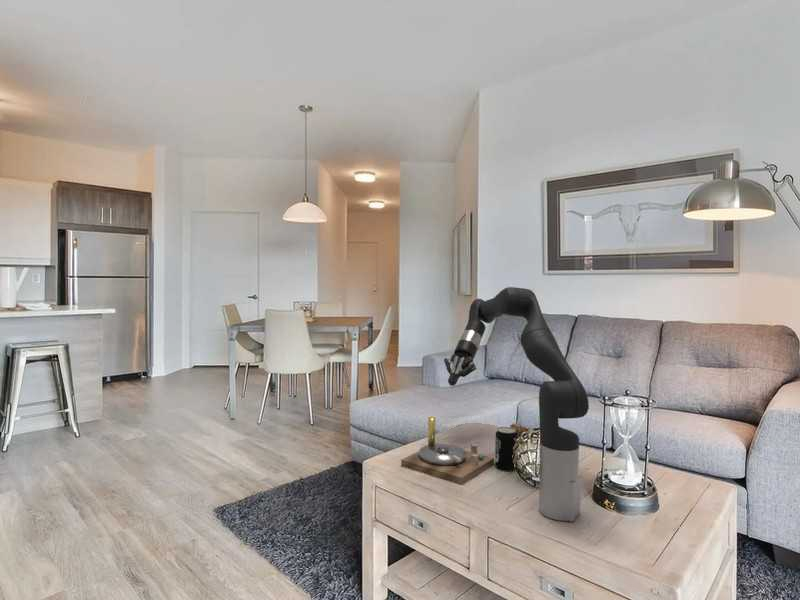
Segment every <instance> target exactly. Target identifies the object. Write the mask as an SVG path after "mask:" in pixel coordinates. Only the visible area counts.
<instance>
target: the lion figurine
mask: <svg viewBox="0 0 800 600" xmlns="http://www.w3.org/2000/svg"><path fill="white" fill-rule="evenodd" d="M509 427H510V428H513V429H515V430H516V434H517V439H518V438H519V437H520V436H521V434H522V433H523V432H525V431H529V430H528V428H526V427H524V426H522V425H521V424H520V423H518V422H517V423H512V424H510V425H509Z"/></svg>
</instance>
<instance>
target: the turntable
mask: <svg viewBox="0 0 800 600" xmlns="http://www.w3.org/2000/svg"><path fill="white" fill-rule="evenodd" d="M435 444H438V443H437V442H435ZM465 451H466V453H467V456H466V460H465V461H464V462H462V463H460V464H456V465H435V464H430V463H427V462H425V461H423V460H422V459H421V458H420V457H419V451H417V452H416V451H415V452H414V453H413V454H410V455H408V456H405V457H404V458H401V459H400V463H401V464H400V466H401V465H402V466H401V467H403V466H405V467H404V468H406V467H408V468H407V469H410V468H411V470H413V469H414V470H413V471H416V470H418V471H417V472H419V471H421V473H423V472H424V474H426V473H427V474H426V475H429V476H433V477H435V478H439V479H442V480H444V481H445V480H446V481H448V480H449V482H453V483H456V484H458V483H459V485H461V486H462V485H465V483H468V482H469V481H470V480H472V479H473V478H476V477H477V476H478V475H479V474H481V473H483V472H484V471H486V470H487V469H489V468H490V467H493V464H494V465H495V457H491V456H488V455H484V454H482V453H478V445H477V444H476V443H471V444H470V451H467V450H465Z"/></svg>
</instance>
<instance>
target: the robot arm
mask: <svg viewBox="0 0 800 600" xmlns="http://www.w3.org/2000/svg"><path fill="white" fill-rule="evenodd" d="M503 315H505V316H509V317H510V316H511V317H519V318H520V317H522V318H524V319H525V320H526V322H527V323H526V324H525V326H524V327H523V330H522V332H521V335H520V344H521V346H522V349H523V352H524V353H525V355H526V357H527V360H529V361H528V362H530V363H531V364H532V365H534V367H536V368H537V369H539V370H540V371H541V372H543V373H544V374H546V375H547V376H548V377H549V378H551V379H552V380H547V381H544V382H542V383H541V384H540V387H539V391H538V409H539V413H538V415H539V433H540V445H539V448H540V451H539V484H538V485H539V487H538V511H539V513H540V514H541V515H543V516H544V517H547V518H548V519H552V520H555V521H561V522H562V521H565V522H571V523H572V522H574V521H575V519H576V518H577V517H578V516H579V515H580V513H581V487H582V483H581V480H582V477H581V475H579V464H580V463H579V462H580V459H579V458H580V457H579V456H580V437H579V435H578V434H577V433H575V432H574V431H572V430H570V429H566V428H564V427H561V426H560V425H559V420H560V419H579V418H584V417H585V416H587V414H588V412H589V409H590V407H589V405H590V404H589V398H588V395H587V392H586V389H585V388H584V385H583V383H582V382H581V380H580V379H579V378H578V376H577V375H576V374H575V372H574V371H573V369H572V367H571V366H570V364H569V363H568V362H567V360H566V358H565V356H564V355H563V352H562V351H561V348H560V346H559V345H558V342H557V340H556V337H555V336H554V335H553V332H552V331H551V329H550V327H549V326H548V323H547V321H546V319H545V317H544V315H543V312H542V310H541V306H540V304H539V301H538V299H537V296H536V294H535V292H534V291H533V290H531V289H529V288H522V287H513V286H509V287H505V288H503V289H502V290H501V291H499V292H498V293H497V294H496V295H495V296H494V297H493V298H490V299H487V300H483V299H482V298H477V299H475V300H473V301H472V302H471V304H470V307H469V311H468V319H467V320H468V321H467V324H466V326H465V329H464V330H463V333H462V334H461V336H460V338H459V340H458V342H457V344H456V345H455V346H456V347H455V349H454V352H453V353H452V355H451V356H450V357H449V358H444V359H443V361H444V365H445V367H446V370H447V372H448V374H449V376H448V379H447V382H448V384H449V386H452V387H454V386H455V385H456V384H457V382H458V380H459V378H461V377H462V378H465V377H466V376H468V375H470V374H471V373H472V372H474V371H475V370H477V366H476V364H475V363H474V359H475V357H476V355H477V351H478V350H479V347H480V345H481V342H482V338H483V336H484V333H485V331H486V325H485V324H491V323H492V322H493V321H495V318H500V317H502V316H503ZM451 365H452V367H451Z"/></svg>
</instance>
